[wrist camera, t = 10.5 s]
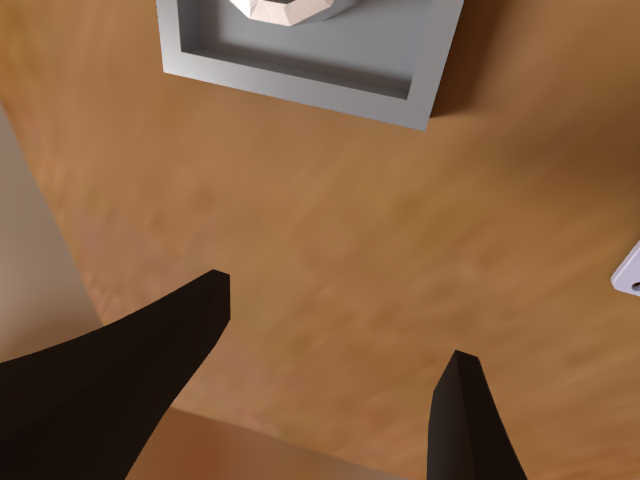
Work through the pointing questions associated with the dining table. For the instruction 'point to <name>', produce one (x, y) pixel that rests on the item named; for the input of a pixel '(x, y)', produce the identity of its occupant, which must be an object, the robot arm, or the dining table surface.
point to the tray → (319, 54)
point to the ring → (293, 10)
